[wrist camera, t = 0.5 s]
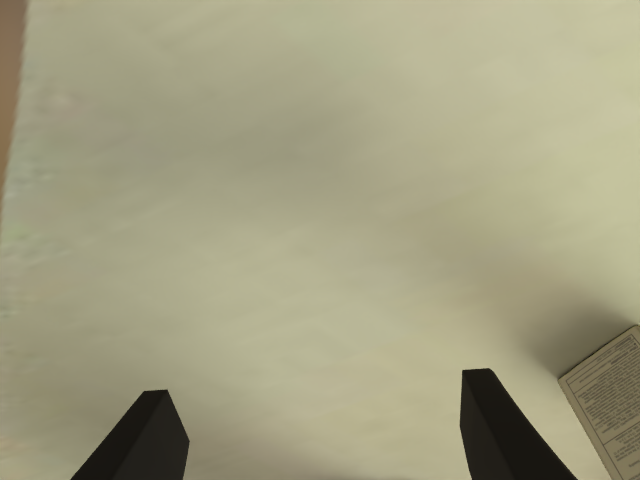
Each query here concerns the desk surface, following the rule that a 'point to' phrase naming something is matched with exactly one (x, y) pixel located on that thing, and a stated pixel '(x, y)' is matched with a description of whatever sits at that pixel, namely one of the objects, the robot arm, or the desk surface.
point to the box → (610, 403)
